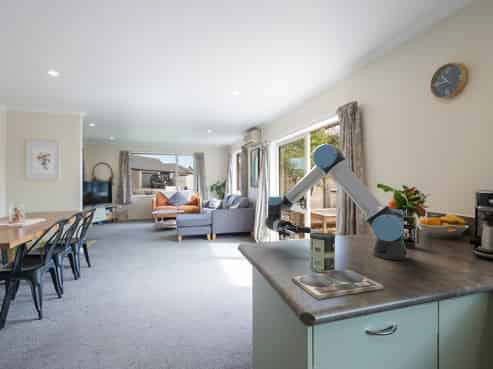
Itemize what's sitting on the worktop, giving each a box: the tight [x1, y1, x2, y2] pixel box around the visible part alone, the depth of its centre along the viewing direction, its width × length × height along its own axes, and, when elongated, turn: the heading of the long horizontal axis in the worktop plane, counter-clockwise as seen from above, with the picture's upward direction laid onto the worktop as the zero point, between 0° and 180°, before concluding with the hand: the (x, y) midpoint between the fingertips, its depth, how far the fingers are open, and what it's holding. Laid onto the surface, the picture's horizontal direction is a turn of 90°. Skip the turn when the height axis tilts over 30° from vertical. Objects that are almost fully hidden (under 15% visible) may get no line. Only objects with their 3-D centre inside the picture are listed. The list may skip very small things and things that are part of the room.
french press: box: [402, 205, 420, 249], centre depth 148 cm, size 12×9×23 cm
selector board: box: [291, 269, 384, 300], centre depth 92 cm, size 26×16×2 cm, turn 109°
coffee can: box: [309, 232, 336, 273], centre depth 109 cm, size 10×10×14 cm
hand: (307, 234), depth 118 cm, fingers open, 13 cm apart
